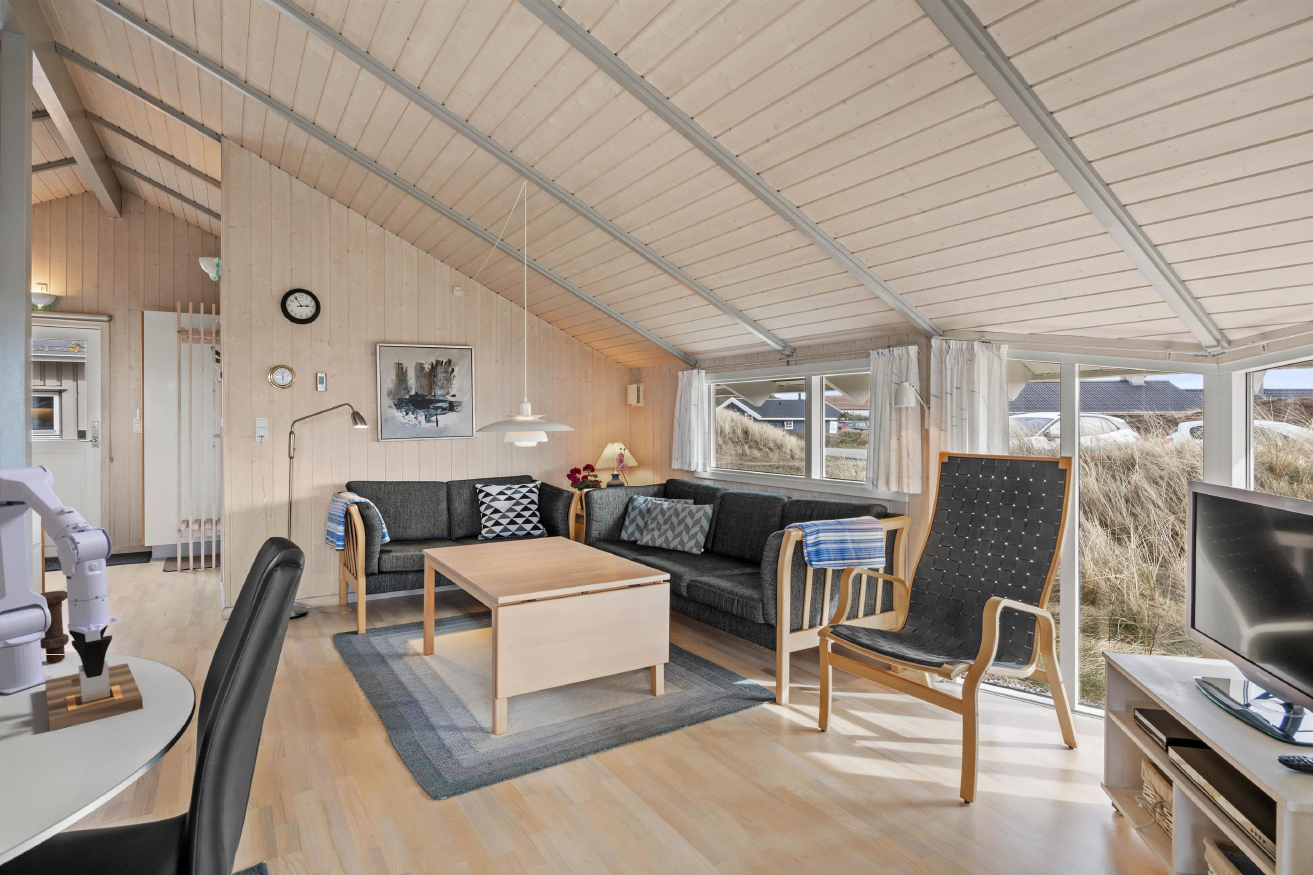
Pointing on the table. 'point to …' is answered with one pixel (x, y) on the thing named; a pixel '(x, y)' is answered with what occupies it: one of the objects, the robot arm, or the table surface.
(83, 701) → the steel peg
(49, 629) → the bolt
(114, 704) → the wooden peg hole board
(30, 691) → the table surface
